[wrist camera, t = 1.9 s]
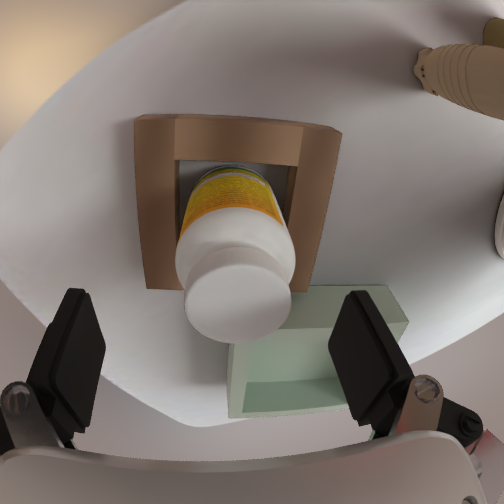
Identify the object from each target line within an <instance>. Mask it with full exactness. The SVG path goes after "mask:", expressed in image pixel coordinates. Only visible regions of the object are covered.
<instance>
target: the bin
mask: <svg viewBox="0 0 504 504" xmlns="http://www.w3.org/2000/svg"><path fill="white" fill-rule="evenodd" d="M352 290H366V291H367V292H368V293H369V295H370V296H371V298H372V300H373V301H374V303H375V305H376V307H377V308H378V310H379V312H380V313H381V315H382V317H383V319H384V320H385V322H386V324H387V326H388V327H389V329H390V331H391V333H392V335H393V336H394V338H395V340H396V342H398V341H399V339H400V337H401V336H402V334H403V332H404V330H405V329H406V327H407V325H408V323H409V321H408V319H407V317H406V315H405V314H404V312H403V310H402V309H401V307H400V305H399V304H398V302H397V301H396V299H395V297H394V296H393V294H392V292H391V291H390V289H389V288H388V286H387V285H358V286H309V287H308V291H307V293H294V292H291V309H290V312H289V315H288V317H287V319H286V320H285V322H284V323H283V324H282V325H281V326H280V327H279V328H278V329H277V330H276V331H275V332H273V333H271V334H270V335H268V336H266V337H264V338H262V339H259V340H256V341H252V342H247V343H229V351H228V366H227V400H228V418H257V417H276V416H290V415H301V414H311V413H320V412H327V411H335V410H342V409H349V406H348V403H347V400H346V397H345V394H344V392H343V389H342V386H341V383H340V380H339V378H338V375H337V372H336V369H335V367H334V364H333V361H332V358H331V356H330V353H329V350H328V341H329V338H330V336H331V333H332V331H333V328H334V326H335V323H336V320H337V318H338V315H339V312H340V310H341V307H342V304H343V302H344V299H345V296H346V295H348V294H349V293H350V292H351V291H352Z"/></svg>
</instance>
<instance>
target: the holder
mask: <svg viewBox="0 0 504 504" xmlns="http://www.w3.org/2000/svg"><path fill="white" fill-rule="evenodd" d="M341 137H342V133H341V132H339V131H337V130H335V129H334V128H332V127H329V126H323V125H316V124H309V123H302V122H294V121H285V120H276V119H266V118H254V117H241V116H224V115H194V114H160V115H142V116H141V117H139V118H137V119H135V120H134V155H135V179H136V195H137V209H138V221H139V231H140V241H141V250H142V258H143V266H144V274H145V281H146V288H147V289H165V290H185V289H184V288H183V287H182V285H181V283H180V281H179V278H178V276H177V272H176V266H175V256H176V247H177V243H178V240H179V237H180V224H179V160H208V161H232V162H249V163H264V164H277V165H288V166H289V170H288V177H287V183H286V190H285V197H284V203H283V210H282V216H283V219H284V221H285V224H286V227H287V229H288V232H289V234H290V237H291V240H292V243H293V246H294V251H295V269H294V273H293V276H292V279H291V281H290V283H289V289H290V292H294V293H307V291H308V287H309V283H310V279H311V275H312V271H313V267H314V263H315V259H316V255H317V251H318V247H319V243H320V239H321V234H322V230H323V226H324V221H325V217H326V212H327V208H328V203H329V198H330V194H331V189H332V184H333V179H334V174H335V169H336V164H337V159H338V153H339V148H340V143H341Z"/></svg>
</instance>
